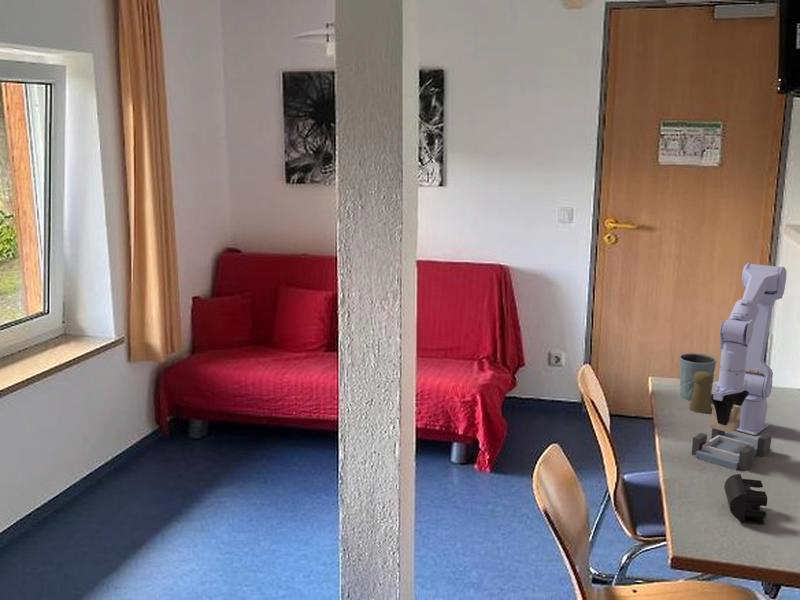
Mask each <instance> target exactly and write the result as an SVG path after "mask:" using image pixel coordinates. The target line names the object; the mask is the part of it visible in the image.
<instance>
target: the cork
mask: <svg viewBox="0 0 800 600" xmlns="http://www.w3.org/2000/svg"><path fill="white" fill-rule="evenodd" d="M693 379H694V382H695V386H694V390H693V394H692V398H691V401H690V404H689V406H688V407H689V410H690V411H692V412H694V413H699V414H709V413H712V400H711V395H712V393H711V389H710V384H711V383H712V382H713V383H714V379H713V376H712V374H711V373H709V372H705V371H699V372H696V373H695V374H694V378H693Z"/></svg>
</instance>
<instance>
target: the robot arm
mask: <svg viewBox="0 0 800 600" xmlns="http://www.w3.org/2000/svg"><path fill="white" fill-rule="evenodd" d="M787 276H788V275H787V269H786V268H785V266H774V265H766V264H765V265H764V264H756V263H751V262H748V263H746V264H745V265H744V266H743V269H742V273H741V284H742V285H743V289H744V291H743V292H744V293H743V296H742V298H741V299H739V300H737V301H736V302H735V304H734V306H733V308H732V310H731V313H730V315H729V316H728V318H727V319H726V320H722V323H721V325H720V329H719V341H720V344H719V349H720V350H721V353H720V355H721V356H720V363H719V364H720V365H719V374H718V381H713V386H715V387H716V388H715V390H714V391H713V393H712V394H711V403H713V406H714V407H715V410H716V415H717V421H718V424H722V425H727V424H728V421H729V417H730V413H731V410H732V407H733V405H738V406H741V415H740V427H739V428H738V429H736V430H735V431H737V432H741V433H744V434H749V435H751V436H757V434H759V433H761V432H762V431H764V430H765V429H766V428H768V427H769V423H766V420H767V419H766V417H767V411H768V409H767V408H768V401H767V399H768V398H770V396H771V393H772V389H773V376H774V372H773V370H772V368H771V367H770V366H769V365H768V364H767V363H766V362H765V361H764V359H765V355H766V347H767V341H768V337H769V336H768V335H769V330H770V325H771V324H770V323H771V318H772V312H773V307H774V305H775V302H776V300H780V299H783V295H784V294H785V288H786V282H787ZM746 370H747V371H746ZM752 371H754V372H752ZM757 372H758V373H757ZM759 372H760V373H759Z"/></svg>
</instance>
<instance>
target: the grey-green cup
mask: <svg viewBox="0 0 800 600" xmlns="http://www.w3.org/2000/svg"><path fill="white" fill-rule="evenodd" d="M716 364H717V358H716V357H714V356H711V355H710V354H709V355H708V354H704V353H696V352H695V353H692V352H689V353H684V354H681V355H680V356H679V383H680V384H679V385H680V388H679V390H680V391H679V392H680V393H679V395H680V397H681V398H682V399H685V400H686V401H689V402H691V398H692V394H693V390H694V386H695V382H694V379H693V378H694V374H695V373H696V372H699V371H705V372H709V373H711V374H712V376H713V380H714V378H715V377H714V376H715V369H716ZM713 386H714V381H713V382H712V383H711V384H710V389H711V394H713V393H712V392H713V391H712V390H713Z"/></svg>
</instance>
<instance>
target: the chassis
mask: <svg viewBox="0 0 800 600" xmlns="http://www.w3.org/2000/svg"><path fill="white" fill-rule="evenodd" d="M707 439H708V434H707V433H703V432H700V433H698V434H697V435H695V436H693V437H692V446H691V456H695V455H696V456H695V458H696V459H698V458H699V459H698V460H701V459H702V460H701V461H704V460H705V461H704V462H708V461H709V463H711V462H712V463H711V464H714V463H715V465H718V464H719V466H721V465H722V466H721V467H724V466H725V468H728V467H729V468H728V469H731V468H732V470H734V471H736V470H737V469H739V470H742V471H746V470H747V469H749V468H750V467H751V466H752V465H753V461H754V460H753V459H754V457H756V456H760V457H765V456H766V455H767V454H769V453H770V451H771V445H772V434H769V433H766V432H765V433H763V434H762V435H760V436H759V437H758V438H757V439H755V438H751V437H746V436H743V435H740V434H736V433H733V432H731V433H730V432H726V431H722V430H718V429H714V428H711V437H710V440H708V441H707Z"/></svg>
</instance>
